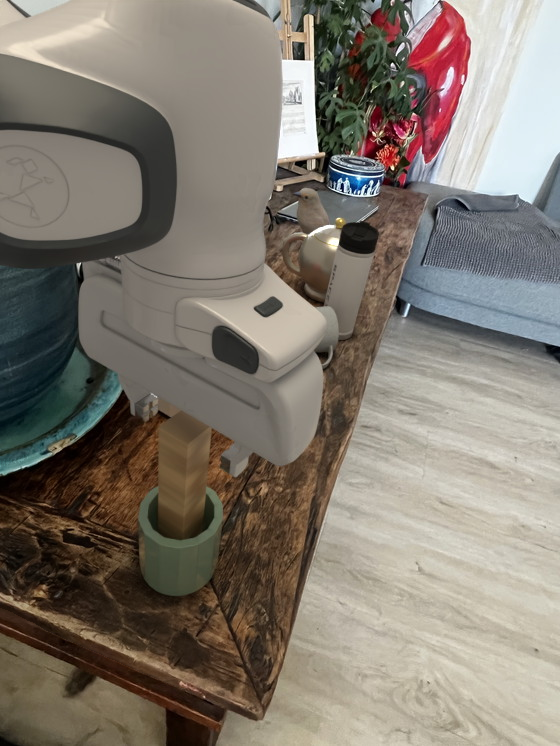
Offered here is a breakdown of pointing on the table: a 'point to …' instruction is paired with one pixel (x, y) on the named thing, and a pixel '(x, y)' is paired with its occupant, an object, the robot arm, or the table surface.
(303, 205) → the bird
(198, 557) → the pot
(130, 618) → the table surface
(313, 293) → the teapot
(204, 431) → the long wooden block
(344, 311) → the travel mug
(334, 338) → the ceramic mug
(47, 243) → the robot arm
